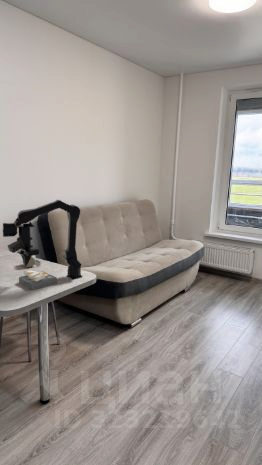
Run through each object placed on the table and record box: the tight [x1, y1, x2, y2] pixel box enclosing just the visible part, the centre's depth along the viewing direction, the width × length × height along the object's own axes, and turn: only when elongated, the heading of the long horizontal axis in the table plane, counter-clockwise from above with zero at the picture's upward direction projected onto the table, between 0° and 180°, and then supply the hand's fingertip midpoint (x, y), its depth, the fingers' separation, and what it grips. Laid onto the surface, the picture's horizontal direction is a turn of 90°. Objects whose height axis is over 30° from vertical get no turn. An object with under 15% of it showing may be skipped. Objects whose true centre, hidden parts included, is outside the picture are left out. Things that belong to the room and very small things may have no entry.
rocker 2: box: [28, 271, 40, 279], centre depth 165 cm, size 5×3×2 cm, turn 136°
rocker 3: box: [32, 274, 45, 282], centre depth 162 cm, size 5×3×2 cm, turn 136°
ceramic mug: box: [22, 255, 42, 268], centre depth 194 cm, size 11×8×8 cm
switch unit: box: [18, 270, 58, 291], centre depth 167 cm, size 14×14×3 cm
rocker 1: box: [23, 270, 36, 276], centre depth 168 cm, size 5×3×2 cm, turn 136°
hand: (26, 265), depth 165 cm, fingers closed
